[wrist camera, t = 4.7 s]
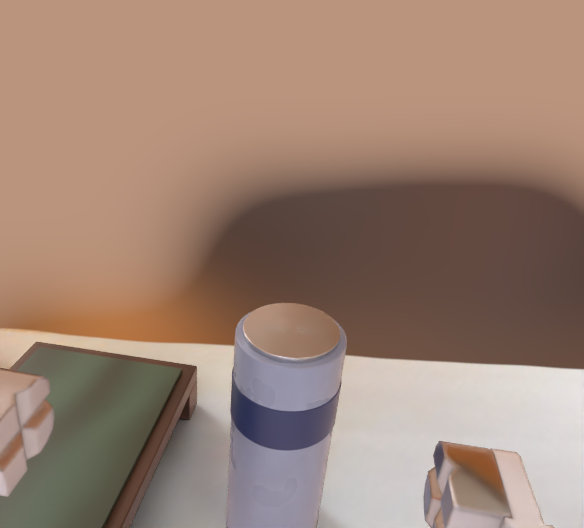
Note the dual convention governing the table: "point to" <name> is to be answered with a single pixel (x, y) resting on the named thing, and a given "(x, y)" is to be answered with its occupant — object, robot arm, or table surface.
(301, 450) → the slim drink can
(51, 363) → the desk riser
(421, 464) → the table surface
